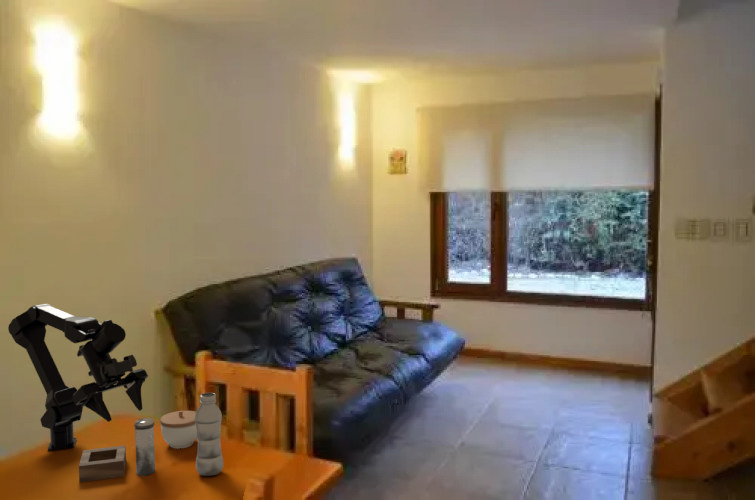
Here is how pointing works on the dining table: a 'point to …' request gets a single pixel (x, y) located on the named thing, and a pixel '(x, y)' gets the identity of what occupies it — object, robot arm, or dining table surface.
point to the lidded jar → (179, 428)
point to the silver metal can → (144, 446)
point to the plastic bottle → (208, 436)
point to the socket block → (102, 463)
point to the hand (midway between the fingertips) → (125, 415)
